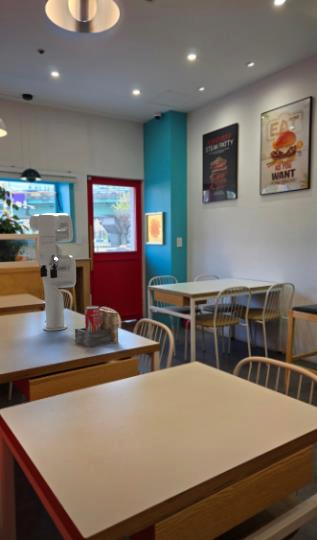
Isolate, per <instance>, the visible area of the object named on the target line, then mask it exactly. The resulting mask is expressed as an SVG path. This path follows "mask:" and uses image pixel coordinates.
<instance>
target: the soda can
mask: <svg viewBox="0 0 317 540" xmlns="http://www.w3.org/2000/svg"><path fill="white" fill-rule="evenodd" d="M100 309H101V308H100V306H99V305H91V306H90V305H89V306H86V307H85V310H84V325H85V327H84V328H85V330H86V332H90V333H93V332H98V331H101V316H100Z"/></svg>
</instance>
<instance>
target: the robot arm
mask: <svg viewBox="0 0 317 540" xmlns="http://www.w3.org/2000/svg"><path fill="white" fill-rule="evenodd" d="M28 223H29V227H30V229H31V231H36V232H37V233H38V249H37V250H38V251H37V255H38V257H37V259H38V260H37V261H38V265H39V271H40V272H39V274H40V275H39V276H40V278H42V284H43V289H44V306H45V307H44V308H45V321H44V322H45V326H43V330H44V331H46V332H47V331H48V332H49V331H50V332H54V331H61V330H62V331H63V330H66V329H67V328H68V324H65V309H64V308H65V307H64V306H65V305H64V294H63V293H62V291H60V290H59V289H62V288H66V289H67V288H73V287H75V286H76V283H77V264H76V258H75V257H74V256H73V255H71V254H63V250H62V249H61V247H60V246H59V245H58V244H57V243H70V242H72V241H73V239H74V230H73V220H72V217H71V216H70V215H69V214H68V213H41V214H32V215H31V216H30V217H29V222H28Z"/></svg>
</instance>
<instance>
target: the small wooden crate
mask: <svg viewBox="0 0 317 540" xmlns="http://www.w3.org/2000/svg"><path fill="white" fill-rule="evenodd" d="M99 309H100V316H101V331H98V332H93V333H90V332H86V330H85V327H81V328H74V335H75V336H74V338H75V341H74V342H76V343H78V344H81V345H83V346H86V347H90V348H95V347H99V346H102V345H107V344H111V343H113V344H117V343H119V315H118V314H119V313H118V312H117V311H112V310H108V309H103V308H99Z"/></svg>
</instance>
